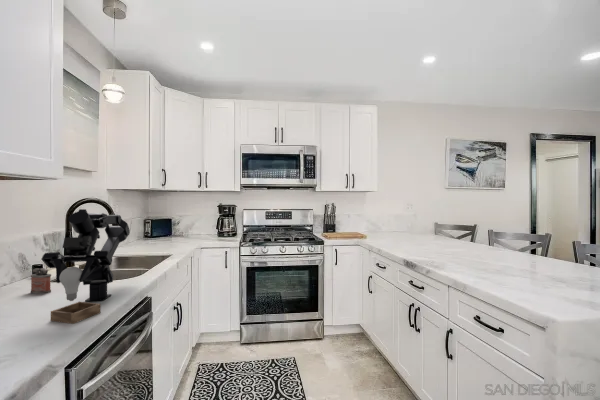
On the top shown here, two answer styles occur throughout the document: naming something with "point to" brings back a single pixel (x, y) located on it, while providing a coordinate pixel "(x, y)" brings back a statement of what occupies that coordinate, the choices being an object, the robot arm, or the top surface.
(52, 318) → the frame
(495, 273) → the top surface
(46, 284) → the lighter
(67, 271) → the lightbulb
